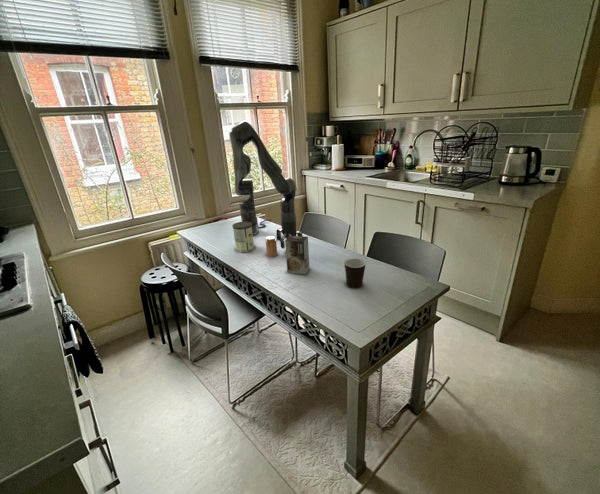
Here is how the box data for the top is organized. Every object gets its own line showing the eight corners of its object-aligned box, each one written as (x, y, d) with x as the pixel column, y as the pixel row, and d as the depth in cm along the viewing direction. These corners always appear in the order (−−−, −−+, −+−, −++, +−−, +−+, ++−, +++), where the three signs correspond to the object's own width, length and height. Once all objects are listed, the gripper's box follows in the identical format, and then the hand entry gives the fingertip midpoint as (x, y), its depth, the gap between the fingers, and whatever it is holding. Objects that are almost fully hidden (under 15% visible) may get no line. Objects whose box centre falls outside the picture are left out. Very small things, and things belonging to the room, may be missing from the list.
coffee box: (309, 268, 148) (308, 236, 142) (305, 274, 143) (304, 241, 136) (291, 266, 151) (289, 235, 144) (286, 272, 145) (284, 240, 139)
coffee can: (238, 245, 180) (235, 221, 174) (256, 245, 179) (253, 221, 173) (233, 252, 170) (229, 227, 165) (252, 252, 169) (249, 227, 164)
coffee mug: (360, 291, 127) (360, 269, 123) (340, 286, 132) (340, 264, 127) (370, 279, 136) (371, 258, 132) (351, 275, 140) (352, 254, 136)
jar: (267, 252, 168) (265, 236, 164) (277, 252, 168) (275, 235, 164) (266, 257, 163) (265, 239, 159) (277, 256, 163) (275, 239, 159)
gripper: (272, 220, 158) (274, 250, 164) (297, 223, 152) (299, 254, 158) (279, 216, 164) (282, 244, 170) (304, 218, 158) (305, 248, 164)
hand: (290, 249), depth 164 cm, fingers open, 8 cm apart
